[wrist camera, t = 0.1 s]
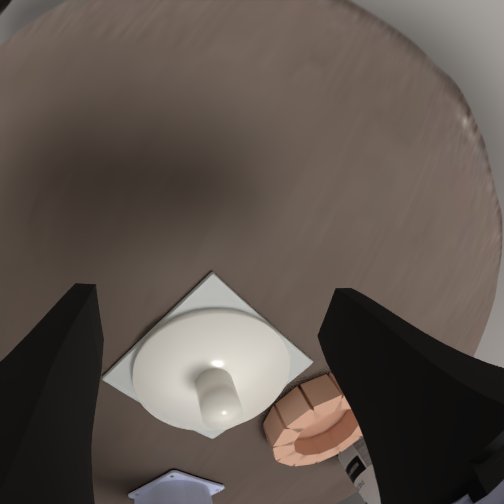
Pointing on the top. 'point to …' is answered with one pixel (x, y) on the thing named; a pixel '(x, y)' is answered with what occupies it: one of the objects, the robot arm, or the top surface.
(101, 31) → the top surface
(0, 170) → the top surface
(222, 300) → the mat
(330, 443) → the bowl
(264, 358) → the lid
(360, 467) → the supplement can
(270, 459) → the top surface
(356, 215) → the top surface
